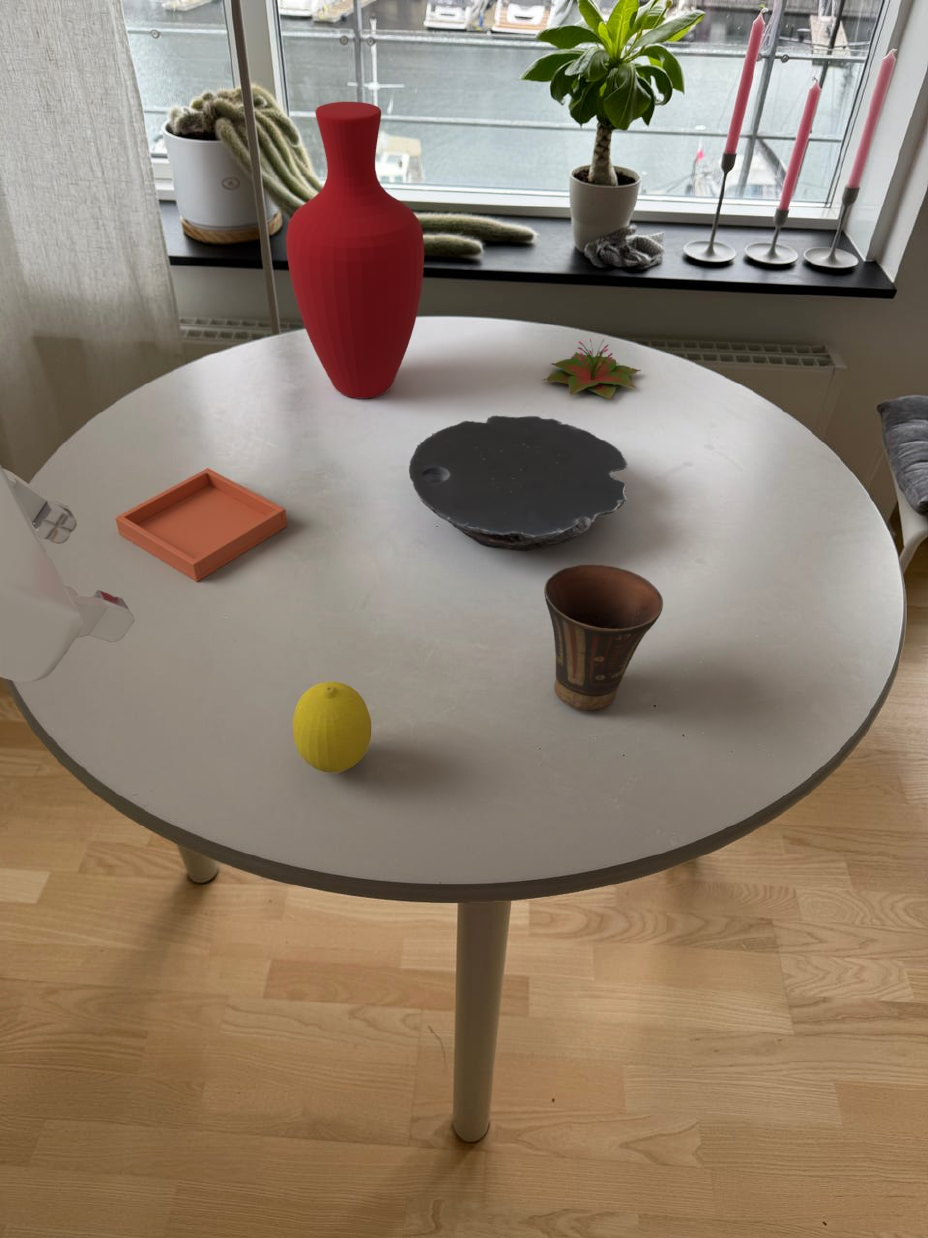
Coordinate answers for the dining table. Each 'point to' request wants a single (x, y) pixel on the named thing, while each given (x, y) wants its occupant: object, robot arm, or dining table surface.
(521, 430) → the board
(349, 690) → the lemon
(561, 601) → the cup
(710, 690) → the dining table surface
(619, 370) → the lily flower
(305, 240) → the vase
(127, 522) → the tray
